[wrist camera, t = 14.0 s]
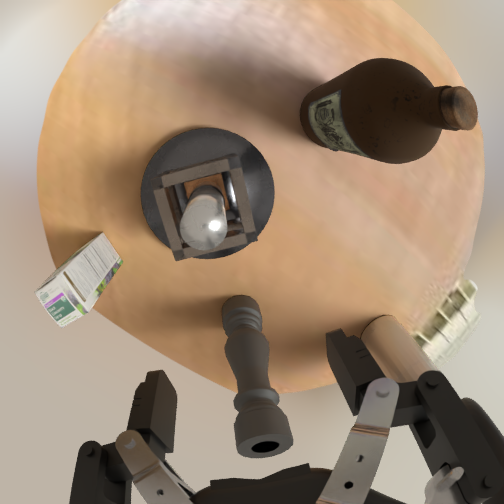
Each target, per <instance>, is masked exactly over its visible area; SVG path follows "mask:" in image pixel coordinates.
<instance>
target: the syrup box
mask: <svg viewBox="0 0 504 504" xmlns="http://www.w3.org/2000/svg"><path fill="white" fill-rule="evenodd" d="M122 263H123V261H122V259H121V258H120V256H119V255H118V254H117V252H116V251H115V249H114V248H113V246H112V245H111V243H110V242H109V240H108V239H107V237H106V236H105V234H104V233H103V232H102V233H100V234H99V235H98V236H96V237H95V238H93V239H92V240H91V241H89V242H88V243H87V244H85V245H84V246H82V247H81V248H80V249H78V250H77V251H76V252H75V253H74V254H73V255H72V256H71V257H70V258H68V259H67V260H66V261H65V262H64V263H63V264H62V265H61V266H60V267H59V268H58V269H57V270H56V271H55V272H54V273H53V274H52V275H51V276H50V277H49V278H48V279H47V280H46V281H45V282H44V283H43V284H42V285H41V286H40V287H39V288H38V289H37V290H36V291H35V294H36V296H37V297H38V299H39V301H40V302H41V304H42V305H43V307H44V308H45V309H46V311H47V312H48V313H49V315H50V316H51V317H52V318H53V320H54V321H55V322H56V323H57V324H58V325H59V326H60V327H61V328H63V327H64V326H66V325H68V324H69V323H71V322H73V321H75V320H76V319H78V318H80V317H81V316H83V315H85V314H87V313H89V312H90V310H91V309H92V307H93V306H94V304H95V303H96V301H97V300H98V298H99V296H100V295H101V293H102V292H103V290H104V289H105V287H106V286H107V284H108V283H109V281H110V280H111V279H112V277H113V276H114V274H115V273H116V271H117V270H118V268H119V267H120V266H121V264H122Z"/></svg>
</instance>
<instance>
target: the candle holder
mask: <svg viewBox="0 0 504 504" xmlns="http://www.w3.org/2000/svg"><path fill="white" fill-rule="evenodd" d="M222 322H223V328H224V330H225V334H226V335H227V337H228V339H227V341H226V344H225V354H226V357H227V360H228V362H229V364H230V366H231V368H232V371H233V373H234V375H235V377H236V379H237V386H238V394H237V395H236V397H235V399H234V407H235V409H236V410H237V411H238V412H239V414H238V416H237V417H236V421H235V423H234V430H235V439H236V447H237V451H238V453H239V454H240V455H242V456H245V457H249V458H265V457H272V456H275V455H277V454H281V453H283V452H285V451H286V450H288V449H289V448H290V447H291V446H292V445H293V437H292V433H291V430H290V426H289V423H288V419H287V416H286V415H285V414H284V413H283V411H282V410H281V409H280V408H279V407H278V406H277V405H278V403H279V394H278V393H277V392H276V391H275V389H273V388H271V387H270V382H269V378H268V361H269V342H268V340H267V339H266V337H265V336H264V335H263V333H261V331H262V316H261V312H260V309H259V305H258V304H257V302H256V301H255V300H254V299H253V298H251V297H249V296H244V295H239V296H234V297H232V298H230V299H228V300H227V301H226V302H225V303H224V305H223V308H222Z"/></svg>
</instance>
